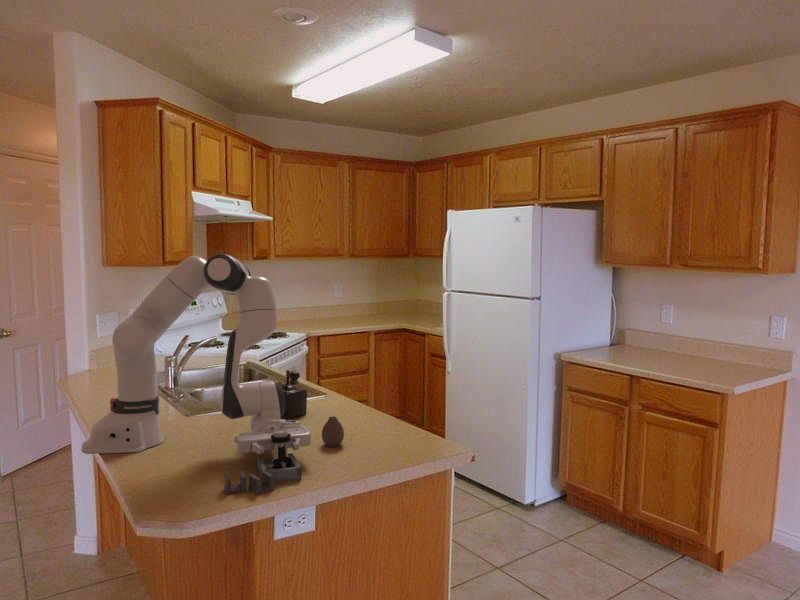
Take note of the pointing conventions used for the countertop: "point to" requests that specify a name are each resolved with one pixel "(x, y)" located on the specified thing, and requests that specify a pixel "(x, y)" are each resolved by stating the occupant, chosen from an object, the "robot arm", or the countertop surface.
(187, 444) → the countertop surface
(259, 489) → the clip
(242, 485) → the clip
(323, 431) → the vase
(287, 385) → the black box with knob
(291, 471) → the end holder
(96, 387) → the countertop surface
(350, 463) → the countertop surface
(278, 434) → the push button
